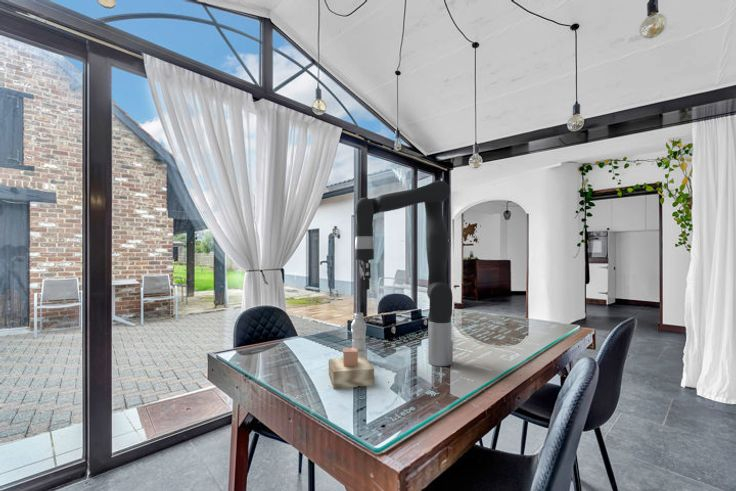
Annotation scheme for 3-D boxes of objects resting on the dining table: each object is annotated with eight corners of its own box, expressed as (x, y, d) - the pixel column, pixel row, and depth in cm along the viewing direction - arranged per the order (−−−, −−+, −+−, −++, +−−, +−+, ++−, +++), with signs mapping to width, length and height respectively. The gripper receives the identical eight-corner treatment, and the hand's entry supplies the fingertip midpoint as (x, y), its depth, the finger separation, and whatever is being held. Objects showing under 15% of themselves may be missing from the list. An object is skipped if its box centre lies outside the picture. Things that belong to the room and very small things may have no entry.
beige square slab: (365, 372, 131) (365, 356, 131) (373, 386, 118) (374, 368, 118) (328, 375, 128) (328, 359, 128) (333, 389, 114) (333, 371, 114)
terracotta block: (356, 361, 126) (356, 347, 126) (357, 365, 121) (357, 351, 121) (343, 361, 125) (343, 347, 125) (343, 366, 120) (343, 351, 120)
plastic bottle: (364, 364, 139) (365, 315, 140) (348, 363, 141) (349, 314, 141) (368, 359, 146) (368, 312, 146) (352, 358, 147) (352, 311, 147)
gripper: (376, 247, 131) (377, 290, 131) (370, 248, 145) (371, 286, 145) (357, 247, 130) (357, 290, 130) (353, 248, 144) (353, 286, 144)
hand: (365, 288), depth 137 cm, fingers open, 8 cm apart
